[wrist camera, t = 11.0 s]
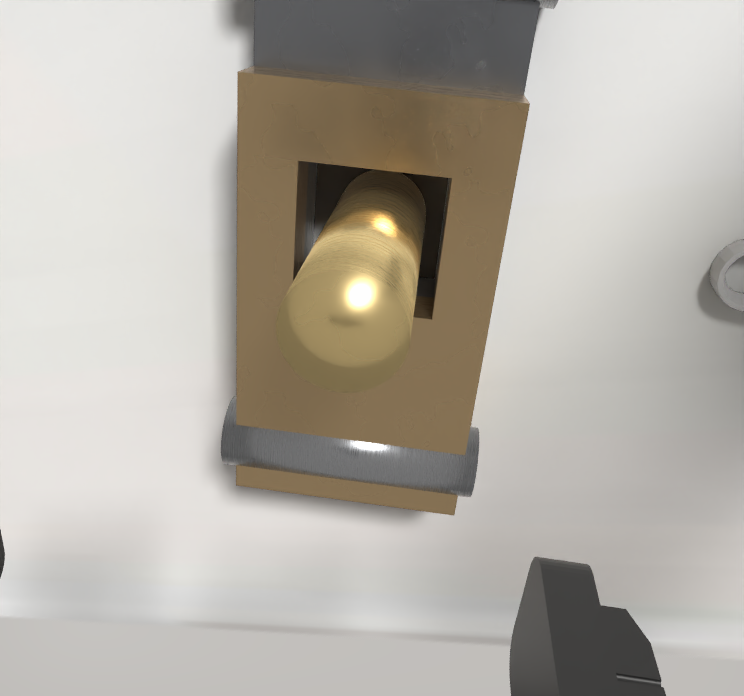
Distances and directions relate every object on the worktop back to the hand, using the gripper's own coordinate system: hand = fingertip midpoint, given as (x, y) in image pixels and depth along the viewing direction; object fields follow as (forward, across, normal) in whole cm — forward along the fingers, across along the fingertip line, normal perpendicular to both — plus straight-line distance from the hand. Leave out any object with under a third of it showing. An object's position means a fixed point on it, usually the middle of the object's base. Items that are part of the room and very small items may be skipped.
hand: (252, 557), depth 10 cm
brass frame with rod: (+19, 0, 0) cm, 19 cm away
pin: (+19, 0, 0) cm, 19 cm away
